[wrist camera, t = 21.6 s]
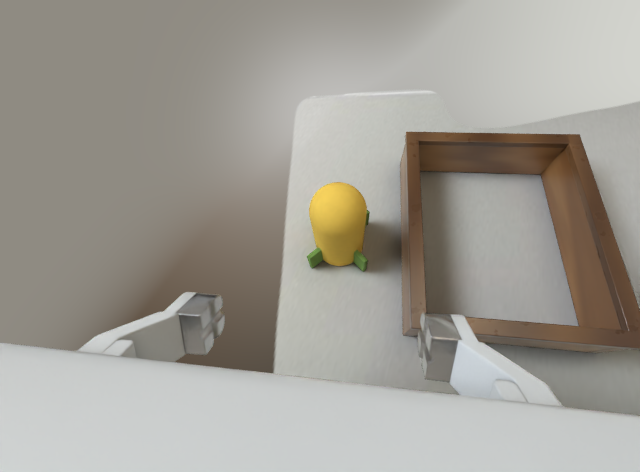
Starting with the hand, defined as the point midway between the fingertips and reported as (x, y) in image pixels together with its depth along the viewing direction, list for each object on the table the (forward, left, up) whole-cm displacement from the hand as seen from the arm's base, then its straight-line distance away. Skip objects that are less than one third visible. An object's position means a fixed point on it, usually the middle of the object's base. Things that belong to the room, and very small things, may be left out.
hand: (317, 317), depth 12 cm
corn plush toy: (0, -9, -14) cm, 17 cm away
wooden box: (-13, -10, -14) cm, 22 cm away
